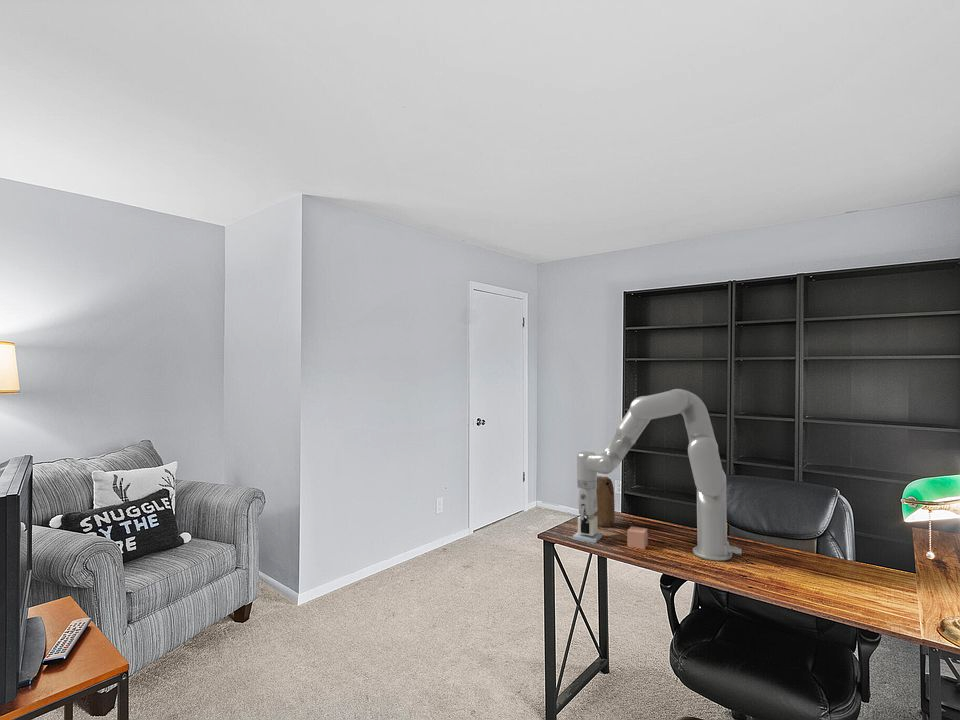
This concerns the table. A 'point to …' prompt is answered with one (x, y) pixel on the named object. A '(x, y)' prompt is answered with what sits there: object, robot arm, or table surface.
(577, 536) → the plate
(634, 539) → the terracotta brick
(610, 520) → the block
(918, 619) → the table surface
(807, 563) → the table surface
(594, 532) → the cream brick
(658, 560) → the table surface
